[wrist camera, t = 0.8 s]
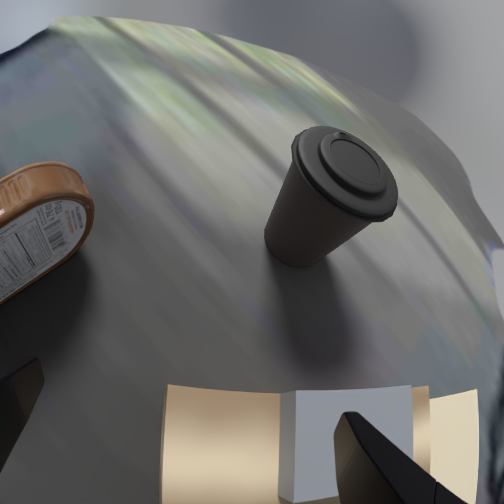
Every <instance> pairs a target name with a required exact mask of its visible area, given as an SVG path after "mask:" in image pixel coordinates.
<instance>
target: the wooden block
mask: <svg viewBox="0 0 504 504" xmlns="http://www.w3.org/2000/svg"><path fill="white" fill-rule="evenodd" d="M412 405H413V461H414V462H416V463H417V464H418V465H419V466H420V467H422V468H423V469H424V470H425V471H426V472H428V473H429V474H430V458H431V426H430V401H429V386H422V387H414V388H412ZM279 432H280V394H275V393H251V392H235V391H222V390H211V389H201V388H192V387H184V386H176V385H169V384H168V385H167V387H166V388H165V392H164V404H163V418H162V434H161V453H160V482H159V504H340V499H339V496H334V497H329V498H324V499H318V500H312V501H305V502H298V503H292V502H290V501H288V500H286V499H284V498H282V497H280V496H278V469H279Z"/></svg>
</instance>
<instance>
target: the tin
mask: <svg viewBox="0 0 504 504" xmlns="http://www.w3.org/2000/svg"><path fill="white" fill-rule="evenodd" d="M93 220H94V204H93V201H92V198H91V196H90V195H89V193H88V191H87V190H86V188H85V186H84V185H83V181H82V178H81V176H80V174H79V173H78V172H77V171H76V170H75V169H74V168H72V167H71V166H69V165H67V164H65V163H60V162H40V163H34V164H31V165H28V166H25V167H22V168H20V169H18V170H16V171H14V172H12V173H11V174H9V175H7V176H5V177H4V178H2V179H0V305H1V304H2V303H3V302H5V301H6V300H8V299H9V298H11V297H12V296H14V295H15V294H17V293H18V292H20V291H21V290H23V289H24V288H26V287H27V286H29V285H30V284H32V283H33V282H35V281H36V280H38V279H39V278H41V277H42V276H44V275H45V274H47V273H48V272H50V271H51V270H53V269H55V268H56V267H58V266H59V265H60V264H62V263H63V262H64V261H66V260H67V259H68V258H69V257H70V256H72V255H73V254H74V253H75V252H76V251H77V249H78V248H79V247H80V246H81V245H82V244H83V242H84V241H85V240H86V238H87V236H88V235H89V233H90V231H91V228H92V225H93Z"/></svg>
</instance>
